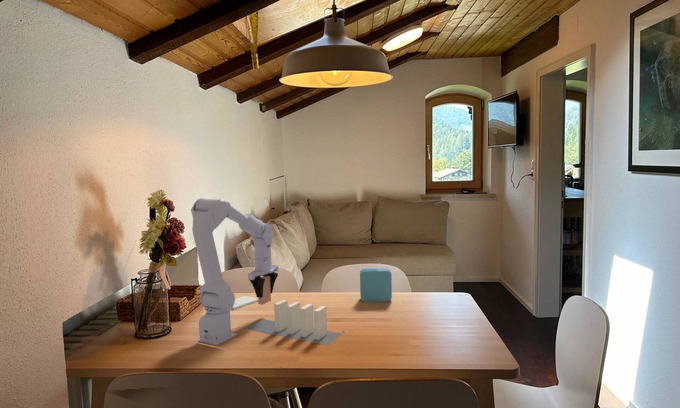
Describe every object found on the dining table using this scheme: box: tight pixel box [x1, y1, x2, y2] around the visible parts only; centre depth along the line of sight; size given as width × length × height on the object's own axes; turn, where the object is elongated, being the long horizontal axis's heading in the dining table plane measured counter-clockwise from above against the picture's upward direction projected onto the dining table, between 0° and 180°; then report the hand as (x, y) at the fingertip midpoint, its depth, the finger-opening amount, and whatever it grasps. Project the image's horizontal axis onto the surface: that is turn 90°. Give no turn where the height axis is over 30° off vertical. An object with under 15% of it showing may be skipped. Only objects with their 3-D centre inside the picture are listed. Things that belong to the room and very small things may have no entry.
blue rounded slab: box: [359, 268, 393, 303], centre depth 184 cm, size 12×4×12 cm, turn 89°
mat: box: [243, 318, 343, 346], centre depth 152 cm, size 10×32×1 cm, turn 61°
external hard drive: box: [232, 295, 258, 310], centre depth 184 cm, size 2×8×12 cm
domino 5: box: [313, 305, 328, 340], centre depth 147 cm, size 5×2×9 cm, turn 151°
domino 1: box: [257, 276, 272, 306], centre depth 167 cm, size 5×2×9 cm, turn 151°
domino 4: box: [300, 303, 314, 337], centre depth 149 cm, size 5×2×9 cm, turn 151°
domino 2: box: [273, 299, 288, 332], centre depth 154 cm, size 5×2×9 cm, turn 151°
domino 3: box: [287, 301, 301, 334], centre depth 151 cm, size 5×2×9 cm, turn 151°
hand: (264, 295), depth 167 cm, fingers closed on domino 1, 5 cm apart
